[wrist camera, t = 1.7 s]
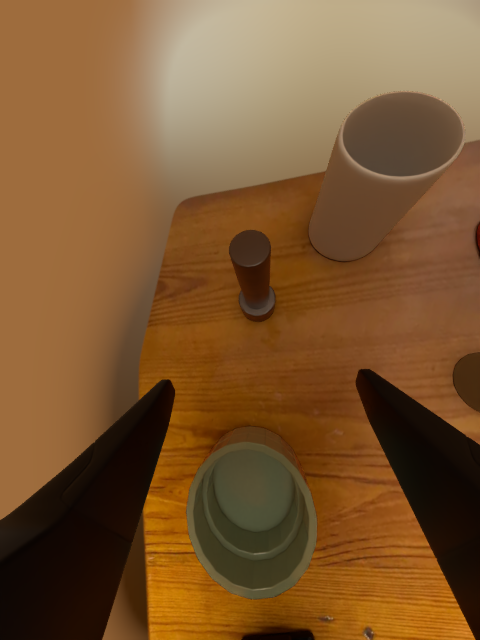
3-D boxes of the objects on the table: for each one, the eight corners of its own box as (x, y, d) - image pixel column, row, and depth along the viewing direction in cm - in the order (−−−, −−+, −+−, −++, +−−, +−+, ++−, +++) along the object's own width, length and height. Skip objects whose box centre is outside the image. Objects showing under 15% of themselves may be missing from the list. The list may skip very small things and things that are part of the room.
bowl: (317, 532, 18) (335, 591, 14) (213, 545, 19) (196, 606, 14) (289, 417, 21) (296, 432, 16) (198, 433, 22) (179, 453, 17)
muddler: (277, 317, 23) (290, 268, 11) (245, 325, 24) (223, 284, 12) (270, 287, 24) (273, 212, 12) (239, 294, 25) (213, 228, 13)
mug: (347, 275, 23) (414, 202, 13) (293, 234, 26) (313, 142, 15) (413, 209, 24) (528, 88, 14) (355, 175, 26) (416, 47, 16)
